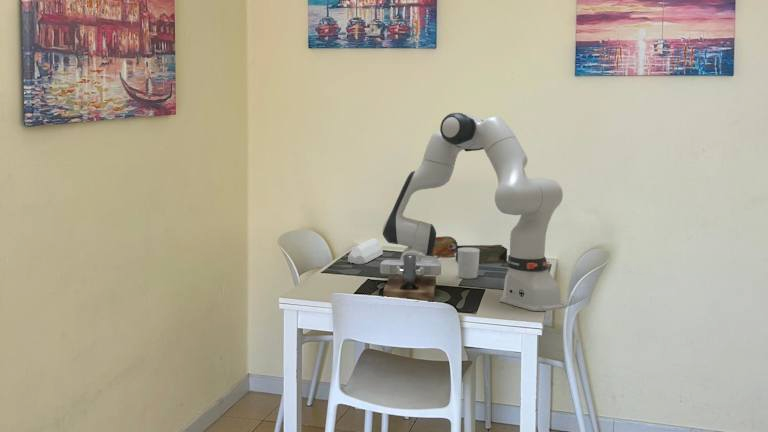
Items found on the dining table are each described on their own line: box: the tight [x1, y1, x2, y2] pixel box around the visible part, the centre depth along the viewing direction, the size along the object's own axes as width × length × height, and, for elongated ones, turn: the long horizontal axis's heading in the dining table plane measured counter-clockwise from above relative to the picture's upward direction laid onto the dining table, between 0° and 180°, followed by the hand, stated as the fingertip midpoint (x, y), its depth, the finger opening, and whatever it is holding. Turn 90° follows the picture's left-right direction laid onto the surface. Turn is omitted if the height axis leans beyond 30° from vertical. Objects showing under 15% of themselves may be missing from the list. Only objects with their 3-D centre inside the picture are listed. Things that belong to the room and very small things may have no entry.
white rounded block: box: [347, 237, 384, 265], centre depth 340 cm, size 7×7×24 cm
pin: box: [403, 255, 416, 290], centre depth 279 cm, size 4×4×12 cm
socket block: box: [382, 274, 437, 302], centre depth 286 cm, size 16×24×3 cm, turn 175°
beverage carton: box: [455, 244, 508, 265], centre depth 337 cm, size 8×19×7 cm, turn 102°
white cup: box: [457, 248, 480, 280], centre depth 310 cm, size 8×8×10 cm
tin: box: [430, 235, 459, 259], centre depth 345 cm, size 15×3×8 cm, turn 104°
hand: (409, 272), depth 278 cm, fingers closed on pin, 4 cm apart
